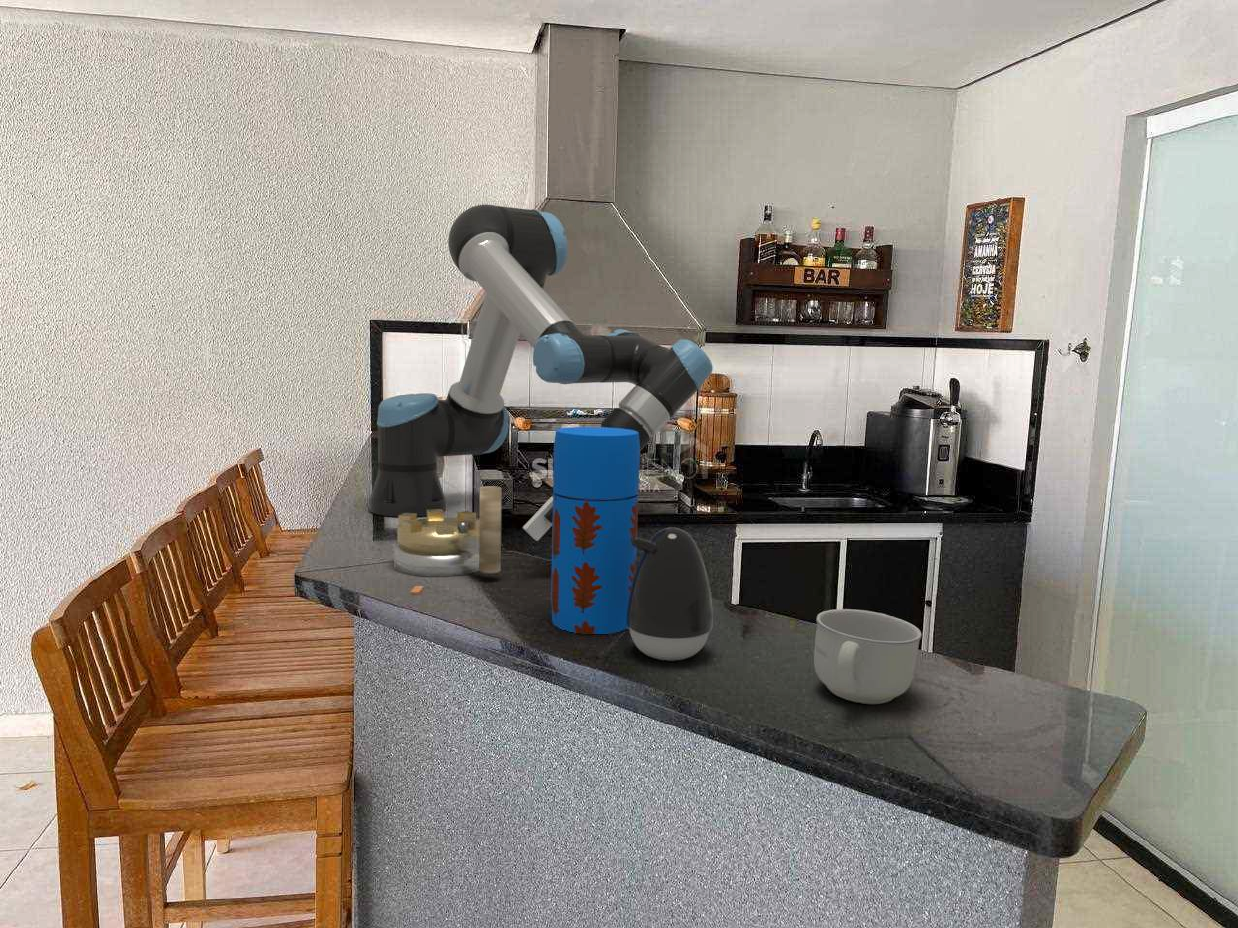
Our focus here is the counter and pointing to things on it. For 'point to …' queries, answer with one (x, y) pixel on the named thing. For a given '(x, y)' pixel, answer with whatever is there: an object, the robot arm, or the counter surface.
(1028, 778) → the counter surface
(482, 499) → the studded brass turntable
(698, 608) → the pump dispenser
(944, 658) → the counter surface
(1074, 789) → the counter surface
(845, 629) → the teacup
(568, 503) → the thermos
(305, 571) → the counter surface
